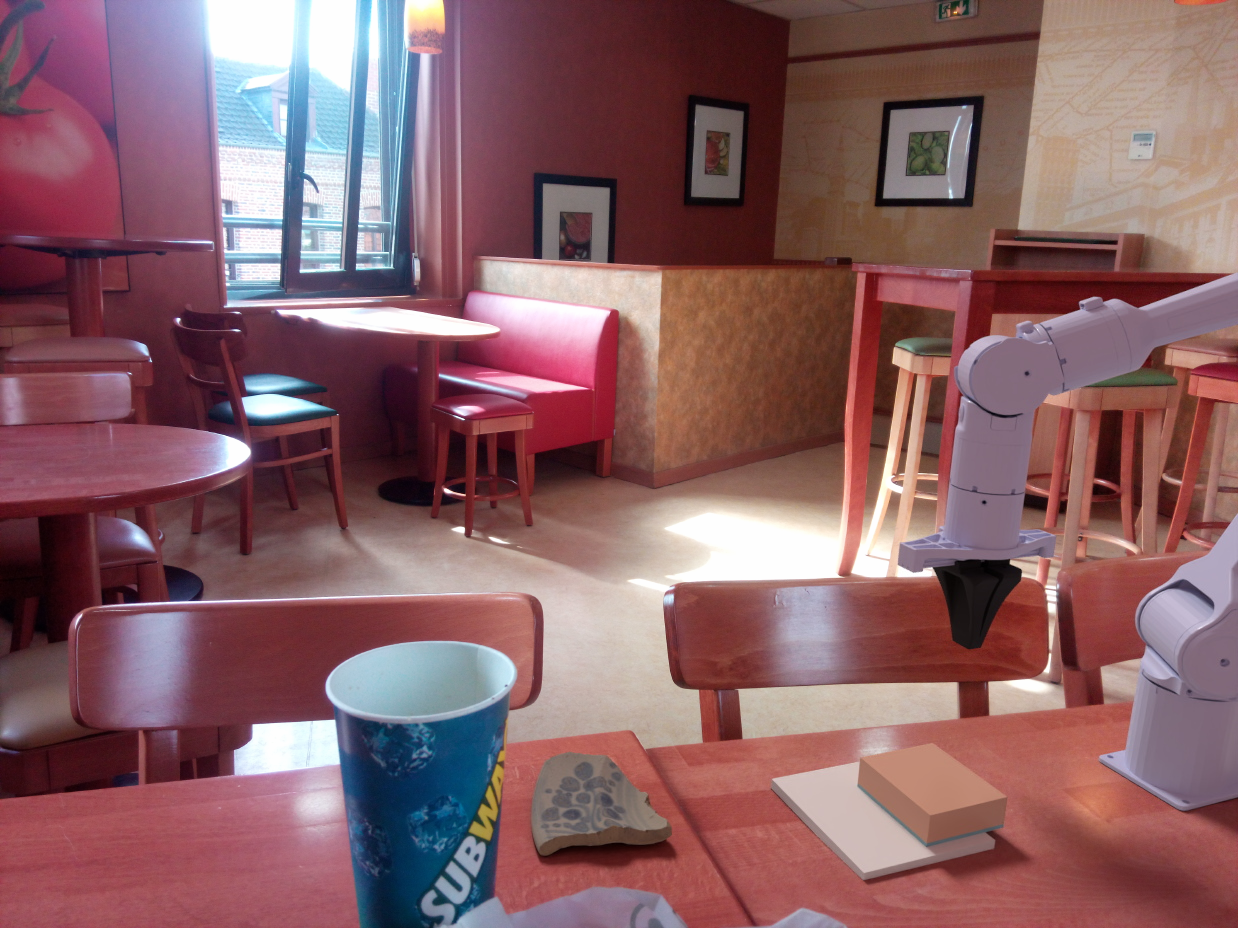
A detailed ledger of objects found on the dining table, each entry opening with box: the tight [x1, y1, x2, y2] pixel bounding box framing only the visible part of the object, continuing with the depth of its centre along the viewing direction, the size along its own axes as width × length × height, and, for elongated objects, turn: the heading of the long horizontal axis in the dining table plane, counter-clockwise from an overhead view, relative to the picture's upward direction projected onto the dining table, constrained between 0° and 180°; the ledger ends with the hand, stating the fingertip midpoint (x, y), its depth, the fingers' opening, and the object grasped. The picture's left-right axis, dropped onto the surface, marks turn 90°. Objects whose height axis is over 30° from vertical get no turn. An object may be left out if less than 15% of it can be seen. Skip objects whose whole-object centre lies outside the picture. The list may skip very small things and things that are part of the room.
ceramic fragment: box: [530, 751, 673, 857], centre depth 68 cm, size 11×3×10 cm
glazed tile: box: [857, 742, 1008, 847], centre depth 69 cm, size 2×8×7 cm
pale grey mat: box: [770, 761, 996, 881], centre depth 69 cm, size 11×12×1 cm
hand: (966, 644), depth 77 cm, fingers closed
